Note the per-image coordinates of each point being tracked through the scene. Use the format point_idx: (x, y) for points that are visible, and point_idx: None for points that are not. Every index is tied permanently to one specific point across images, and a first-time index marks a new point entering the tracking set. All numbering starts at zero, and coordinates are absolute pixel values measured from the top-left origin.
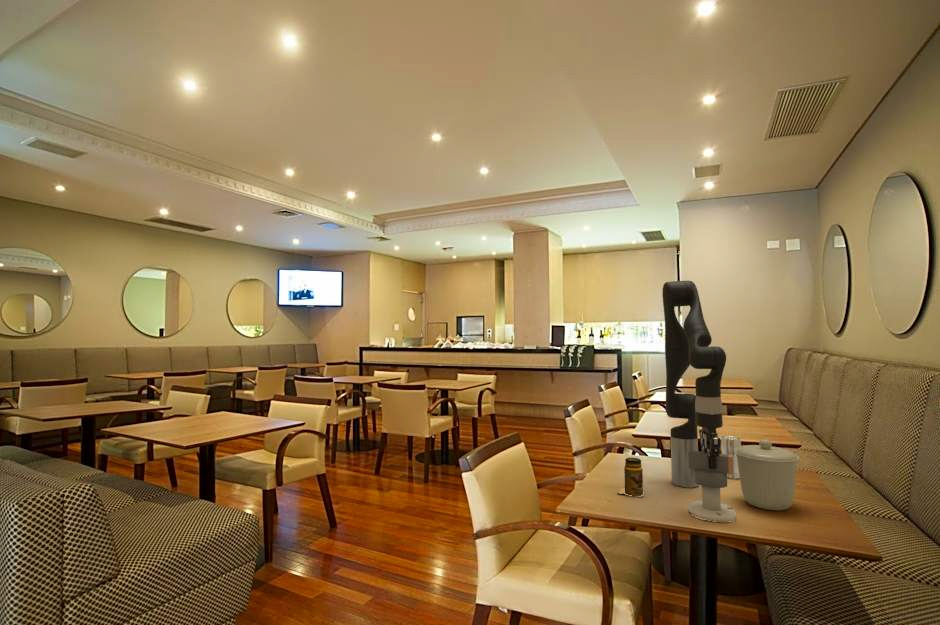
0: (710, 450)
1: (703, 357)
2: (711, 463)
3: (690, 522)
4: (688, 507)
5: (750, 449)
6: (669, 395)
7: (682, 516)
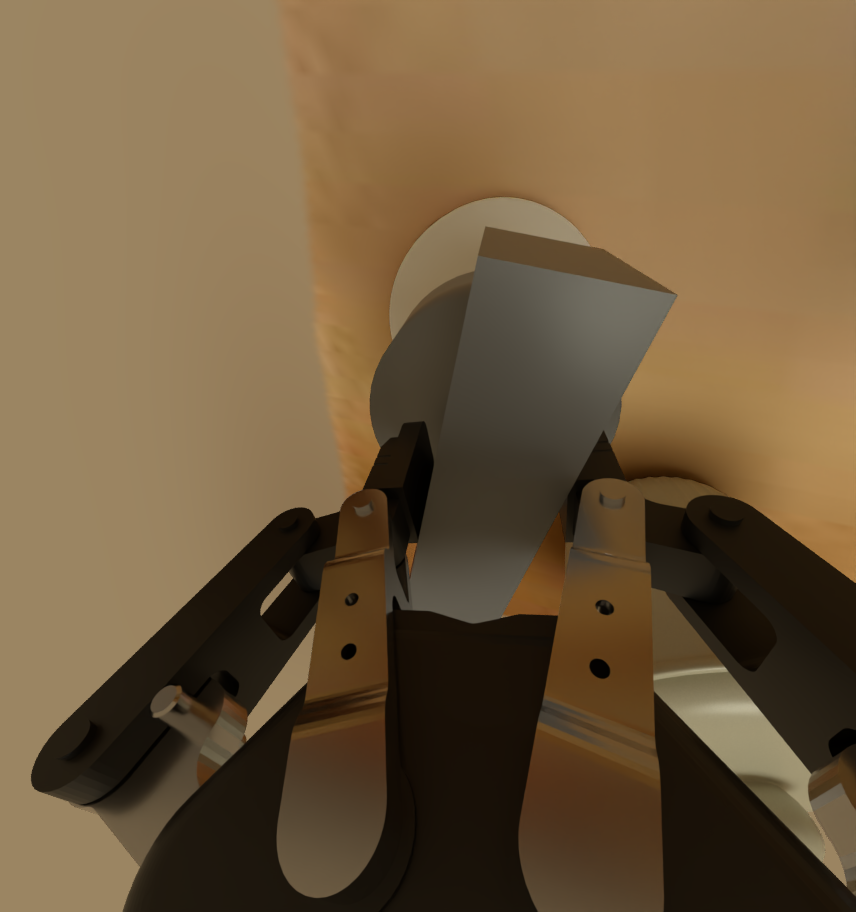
0: (250, 561)
1: None
2: (375, 463)
3: (350, 198)
4: (499, 197)
5: (753, 744)
6: None
7: (419, 153)
